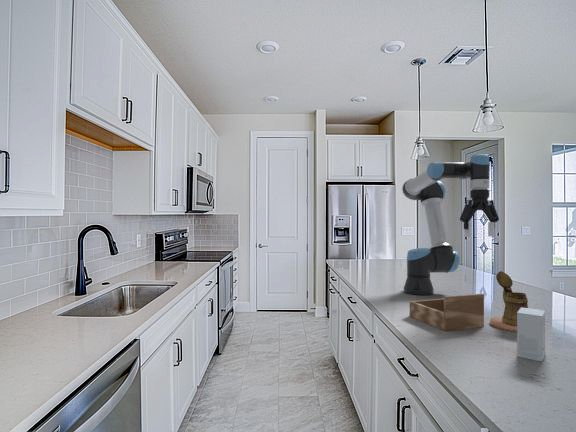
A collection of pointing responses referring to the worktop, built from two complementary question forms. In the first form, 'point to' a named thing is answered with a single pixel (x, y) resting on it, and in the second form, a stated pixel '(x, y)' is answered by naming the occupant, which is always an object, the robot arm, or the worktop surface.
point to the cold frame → (450, 312)
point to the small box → (531, 334)
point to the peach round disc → (502, 324)
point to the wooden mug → (511, 299)
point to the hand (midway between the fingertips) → (479, 236)
